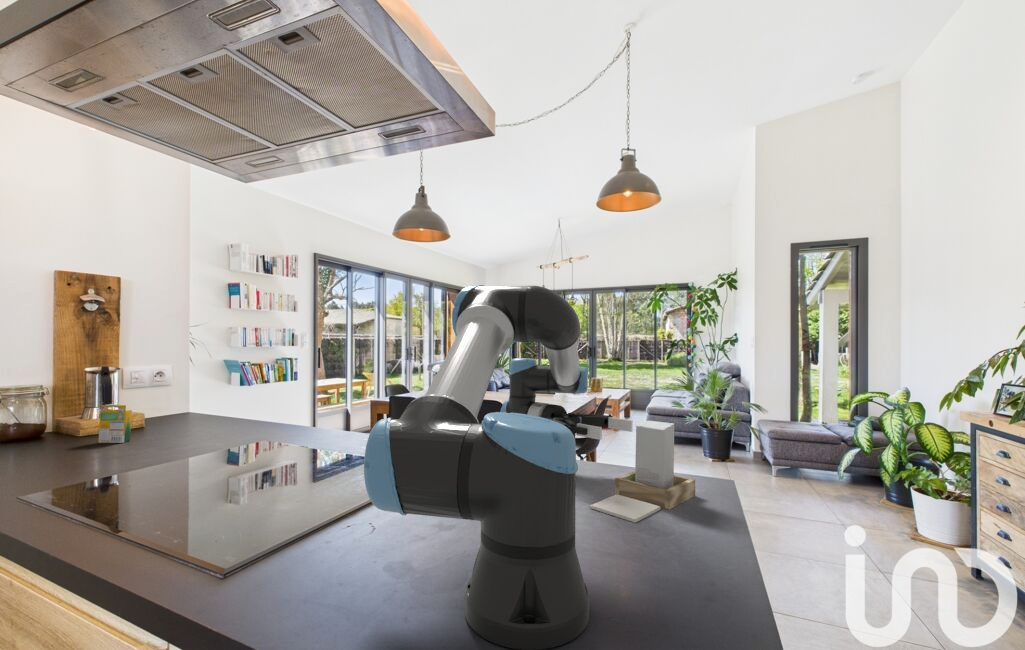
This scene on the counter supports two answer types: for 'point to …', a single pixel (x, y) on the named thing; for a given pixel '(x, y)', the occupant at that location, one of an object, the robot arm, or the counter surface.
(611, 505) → the coaster
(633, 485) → the pocket
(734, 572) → the counter surface
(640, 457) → the skincare box
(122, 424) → the crayon box
